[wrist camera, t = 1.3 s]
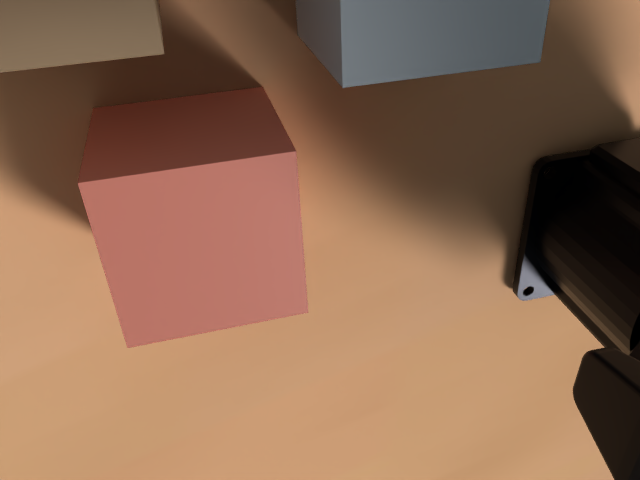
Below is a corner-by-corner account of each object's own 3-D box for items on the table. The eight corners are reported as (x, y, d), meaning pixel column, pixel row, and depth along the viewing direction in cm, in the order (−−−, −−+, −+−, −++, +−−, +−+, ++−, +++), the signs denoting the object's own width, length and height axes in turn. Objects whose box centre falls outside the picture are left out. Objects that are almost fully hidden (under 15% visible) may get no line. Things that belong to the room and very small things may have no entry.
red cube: (276, 224, 21) (308, 312, 17) (130, 248, 20) (127, 347, 16) (262, 85, 18) (296, 151, 14) (93, 107, 17) (77, 183, 13)
